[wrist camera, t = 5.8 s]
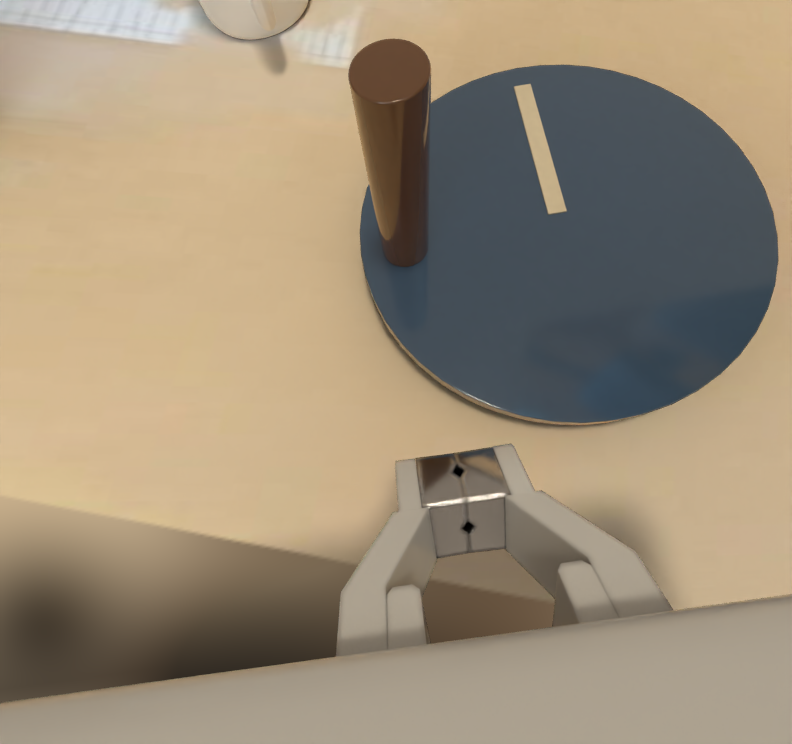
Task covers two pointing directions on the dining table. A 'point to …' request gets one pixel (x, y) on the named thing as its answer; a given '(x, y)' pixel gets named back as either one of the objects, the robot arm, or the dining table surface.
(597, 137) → the blue disc with peg
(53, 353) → the dining table surface
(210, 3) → the cup
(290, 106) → the dining table surface
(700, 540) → the dining table surface
